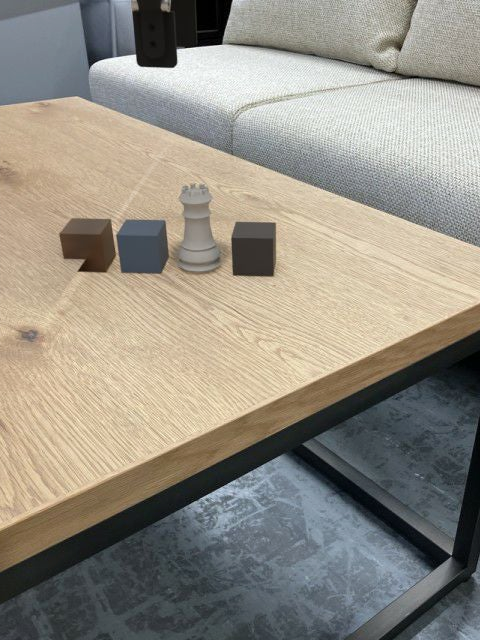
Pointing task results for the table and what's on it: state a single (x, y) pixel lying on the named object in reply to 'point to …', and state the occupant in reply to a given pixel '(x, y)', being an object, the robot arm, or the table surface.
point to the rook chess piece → (198, 232)
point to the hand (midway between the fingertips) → (169, 55)
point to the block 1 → (89, 243)
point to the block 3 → (254, 248)
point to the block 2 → (143, 246)
